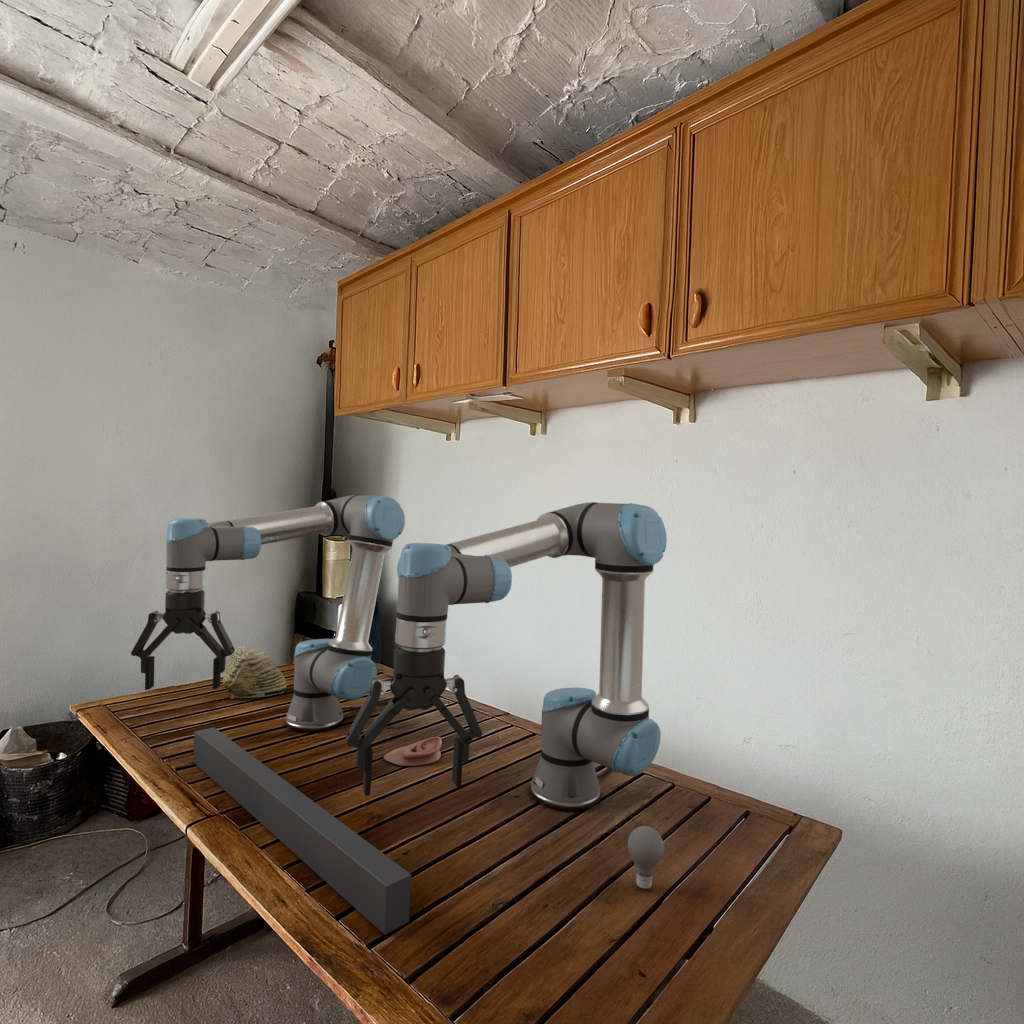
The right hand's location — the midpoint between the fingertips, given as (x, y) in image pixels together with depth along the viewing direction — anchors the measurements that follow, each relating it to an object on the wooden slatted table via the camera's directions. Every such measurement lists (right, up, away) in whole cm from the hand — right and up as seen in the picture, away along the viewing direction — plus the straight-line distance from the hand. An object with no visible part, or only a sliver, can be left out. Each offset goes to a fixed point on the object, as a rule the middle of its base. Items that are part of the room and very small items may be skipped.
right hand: (412, 787), depth 95 cm
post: (-30, -19, +27) cm, 44 cm away
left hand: (-56, +3, +42) cm, 70 cm away
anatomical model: (-9, -19, +61) cm, 64 cm away
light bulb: (+37, -22, +12) cm, 45 cm away
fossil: (-66, -16, +103) cm, 123 cm away
